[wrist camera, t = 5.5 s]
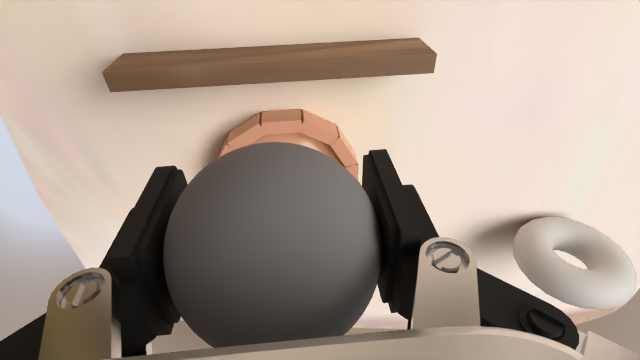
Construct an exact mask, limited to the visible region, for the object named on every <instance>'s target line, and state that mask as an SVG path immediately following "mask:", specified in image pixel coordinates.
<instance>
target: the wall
mask: <svg viewBox="0 0 640 360" xmlns="http://www.w3.org/2000/svg"><path fill="white" fill-rule="evenodd" d="M436 56H437V54H436V53H435V52H434V51H433V50H432V49H431V48H430V47H429V46H428V45H426V44H425V43H424V42H423V41H422V40H421V39H420V38H409V39H390V40H372V41H353V42H334V43H315V44H296V45H278V46H259V47H240V48H221V49H203V50H184V51H165V52H146V53H127V54H123V55H122V56H120V57H119V58H118V59H117V60H116V61H115V62H114V63H113V64H111V65H110V66H109V67H108V68H107V69H106V70H105V71H104V72H102V73H103V76H104V78H105V81H106V83H107V85H108V88H109V90H110V92H121V91H138V90H155V89H172V88H189V87H206V86H223V85H240V84H256V83H273V82H290V81H307V80H324V79H341V78H358V77H375V76H392V75H409V74H426V73H434V68H435V62H436Z"/></svg>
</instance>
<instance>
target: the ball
mask: <svg viewBox="0 0 640 360" xmlns="http://www.w3.org/2000/svg"><path fill="white" fill-rule="evenodd" d="M381 262H382V239H381V231H380V226H379V222H378V217H377V215H376V212H375V210H374V207H373V205H372V203H371V200H370V198H369V197H368V195H367V193H366V192H365V190H364V189H363V187H362V186H361V184H360V183H359V182H358V181H357V179H356V178H355V177H354V176H353V175H352V174H351V173H350V172H349V171H348V170H347V169H346V168H344V167H343V166H342V165H341V164H340V163H339V162H337V161H336V160H334V159H333V158H331V157H329V156H328V155H326V154H323V153H321V152H319V151H317V150H315V149H312V148H309V147H306V146H303V145H299V144H294V143H286V142H264V143H257V144H252V145H248V146H244V147H241V148H239V149H236V150H233V151H231V152H228V153H226V154H224V155H223V156H221V157H219V158H217V159H216V160H214V161H213V162H212V163H210V164H209V165H208V166H206V167H205V168H204V169H202V170H201V171H200V172H199V173H198V174H197V175H196V176H195V177H194V178H193V179H192V180H191V182H190V183H189V184H188V185H187V187H186V188H185V189H184V191H183V192H182V194H181V195H180V197H179V199H178V201H177V203H176V204H175V207H174V209H173V211H172V213H171V215H170V218H169V222H168V225H167V229H166V233H165V237H164V248H163V263H164V272H165V279H166V283H167V286H168V289H169V292H170V295H171V298H172V300H173V302H174V304H175V306H176V308H177V310H178V312H179V313H180V315H181V317H182V318H183V319H184V321H185V322H186V323H187V324H188V326H189V327H190V328H191V329H192V330H193V331H194V332H195V333H196V334H197V335H198V336H199V337H200V338H201V339H203V340H204V341H205V342H206V343H208V344H209V345H210V346H212V347H213V348H220V347H230V346H240V345H250V344H260V343H270V342H281V341H291V340H301V339H312V338H322V337H333V336H343V335H344V334H345V333H347V332H348V331H349V330H350V329H351V328H352V327H353V325H354V324H355V323H356V322H357V320H358V319H359V318H360V317H361V315H362V314H363V312H364V311H365V309H366V307H367V306H368V304H369V302H370V300H371V298H372V296H373V293H374V291H375V288H376V285H377V282H378V279H379V274H380V269H381Z"/></svg>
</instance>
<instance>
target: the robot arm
mask: <svg viewBox="0 0 640 360" xmlns="http://www.w3.org/2000/svg"><path fill="white" fill-rule="evenodd" d="M186 187H187V182H186V179H185V176H184V173H183V171H182V170H181V169H180V170H177V168H176V166H164V167H156V168H155V170H154V172H153V174H152V175H151V177H150V179H149V181H148V183H147V185H146V187H145V188H144V190H143V192H142V194H141V196H140V198H139V200H138V201H137V203H136V205H135V207H134V208H132V209H131V211H130V212H129V214H128V216H127V218H126V219H125V221H124V223H123V225H122V227H121V229H120V230H119V232H118V234H117V236H116V238H115V239H114V241H113V243H112V245H111V247H110V249H109V250H108V252H107V254H106V256H105V258H104V260H103V261H102V263H101V265H100V267H99V268H89V269H85V270H81V271H79V272H77V273H74V274H72V275H71V276H69V277H68V278H66V279H65V280H63V281H62V282H61V283H60V284H59V285H58V286H57V287H56V288H55V290H54V291H53V292H52V293H51V296H50V299H49V301H48V307H47V312H46V313H45V314H43V315H42V316H40V317H39V318H37V319H35V320H34V321H32V322H31V323H29V324H27V325H26V326H24V327H23V328H21V329H19V330H18V331H16V332H15V333H13V334H11V335H10V336H8V337H7V338H5V339H3V340H2V341H0V360H640V355H638V354H636V353H634V352H632V351H630V350H627V349H625V348H623V347H621V346H619V345H617V344H615V343H613V342H611V341H609V340H607V339H605V338H603V337H601V336H599V335H597V334H595V333H592V332H591V331H589V332H588V333H587V334H584V333H582V332H580V331H578V330H577V328H576V326H575V325H574V323H573V322H572V321H571V319H570V318H569V317H568V316H567V315H566V314H565V313H563V312H562V311H561V310H559V309H558V308H556V307H554V306H553V305H551V304H549V303H547V302H545V301H543V300H541V299H539V298H537V297H535V296H533V295H531V294H529V293H527V292H525V291H523V290H521V289H519V288H516V287H514V286H512V285H510V284H508V283H506V282H504V281H502V280H500V279H498V278H496V277H494V276H492V275H490V274H488V273H486V272H484V271H482V270H480V269H478V268H476V260H475V256H474V254H473V253H472V251H471V250H470V249H469V248H468V247H467V246H466V245H464V244H463V243H461V242H459V241H457V240H454V239H451V238H446V237H439V236H438V234H437V231H436V229H435V227H434V225H433V223H432V221H431V219H430V217H429V215H428V213H427V211H426V209H425V207H424V205H423V203H422V201H421V199H420V197H419V195H418V193H417V191H416V189H415V187H414V186H413V185H402V183H401V181H400V179H399V177H398V174H397V172H396V170H395V168H394V165H393V163H392V161H391V159H390V157H389V154H388V152H387V150H386V149H382V150H370V151H369V155H364V156H363V175H362V187H363V189H364V190H365V192H366V193H367V195H368V197H369V198H370V200H371V203H372V205H373V207H374V210H375V212H376V215H377V217H378V222H379V226H380V231H381V239H382V262H381V269H380V274H379V279H378V282H377V284H378V288H379V292H380V296H381V299H382V302H383V303H388V304H389V307H390V311H391V313H396V312H398V314H400V315H401V316H403V317H404V318H406V319H407V326H406V330H398V331H387V332H376V333H365V334H354V335H344V336H333V337H322V338H312V339H301V340H291V341H281V342H270V343H260V344H250V345H240V346H230V347H220V348H210V349H201V350H190V351H180V352H171V353H162V354H152V346H151V341H152V340H153V339H155V338H156V336H159V335H169V334H171V332H172V328H173V325H174V323H177V322H179V320H180V317H181V315H180V313H179V312H178V310H177V308H176V306H175V304H174V302H173V300H172V298H171V295H170V292H169V289H168V286H167V283H166V279H165V272H164V263H163V248H164V237H165V233H166V229H167V225H168V222H169V218H170V215H171V213H172V211H173V209H174V207H175V204H176V203H177V201H178V199H179V197H180V195H181V194H182V192H183V191H184V189H185V188H186Z"/></svg>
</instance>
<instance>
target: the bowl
mask: <svg viewBox="0 0 640 360" xmlns="http://www.w3.org/2000/svg"><path fill="white" fill-rule="evenodd" d="M264 142H286V143H294V144H299V145H303V146H306V147H309V148H312V149H315V150H317V151H319V152H321V153H323V154H326V155H328V156H329V157H331V158H333V159H334V160H336V161H337V162H339V163H340V164H341V165H342V166H343V167H344V168H346V169H347V170H348V171H349V172H350V173H351V174H352V175H353V176H354V177H355V178H356V179H357V181H358V162H357V159H356V155H355V152H354V150H353V149H352V147H351V146H350V144H349V143H348V141H347V140H346V138H345V137H344V135H343V134H342V132H341V131H340V129H339V128H338V126H336V124H334V123H331V122H329V121H327V120H325V119H323V118H320V117H318V116H316V115H314V114H312V113H309V112H307V111H305V110H302V112H301V111H300V109H295V110H279V111H263V112H262V114H261V113H258V114H256V115H255V116H253V117H252V118H250V119H248V120H247V121H245V122H244V123H242V124H241V125H239V126H237V127H236V128H234V129H233V130H231V131H230V133H228V135H227V137H226V140H225V142H224V144H223V147H222V149H221V151H220V153H219V156H218V158H219V157H221V156H223V155H224V154H226V153H228V152H231V151H233V150H236V149H239V148H241V147H244V146H248V145H252V144H257V143H264Z"/></svg>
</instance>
